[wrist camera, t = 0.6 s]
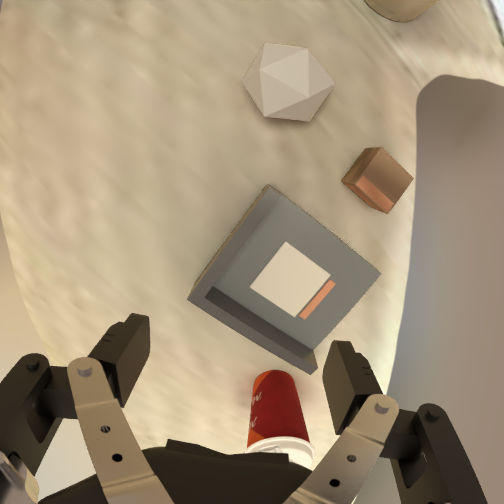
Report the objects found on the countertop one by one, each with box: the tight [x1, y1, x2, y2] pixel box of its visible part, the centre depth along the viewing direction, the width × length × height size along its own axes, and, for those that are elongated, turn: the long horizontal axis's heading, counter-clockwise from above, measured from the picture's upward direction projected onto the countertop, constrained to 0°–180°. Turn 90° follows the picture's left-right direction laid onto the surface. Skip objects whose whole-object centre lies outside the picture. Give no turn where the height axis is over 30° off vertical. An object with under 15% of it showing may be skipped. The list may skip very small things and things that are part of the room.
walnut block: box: [341, 147, 414, 214], centre depth 31 cm, size 5×5×5 cm
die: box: [242, 43, 336, 122], centre depth 27 cm, size 8×9×10 cm
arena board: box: [187, 184, 381, 375], centre depth 35 cm, size 15×18×5 cm
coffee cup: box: [244, 370, 315, 469], centre depth 35 cm, size 8×8×15 cm
